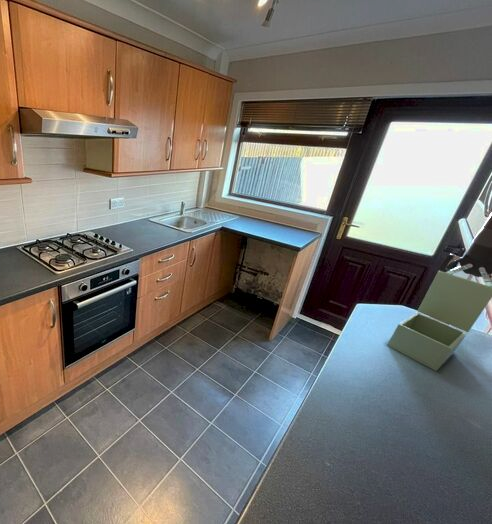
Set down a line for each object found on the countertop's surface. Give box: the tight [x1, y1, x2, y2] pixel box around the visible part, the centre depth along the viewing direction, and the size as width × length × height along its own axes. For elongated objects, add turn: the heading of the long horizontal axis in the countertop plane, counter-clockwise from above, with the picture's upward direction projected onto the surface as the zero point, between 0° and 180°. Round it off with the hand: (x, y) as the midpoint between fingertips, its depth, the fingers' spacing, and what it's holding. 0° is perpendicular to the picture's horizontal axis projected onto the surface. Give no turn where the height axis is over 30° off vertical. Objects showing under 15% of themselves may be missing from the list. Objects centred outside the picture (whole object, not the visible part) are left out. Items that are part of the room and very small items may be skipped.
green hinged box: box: [386, 311, 468, 372], centre depth 91 cm, size 16×13×9 cm
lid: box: [417, 270, 492, 333], centre depth 89 cm, size 16×13×6 cm
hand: (461, 291), depth 89 cm, fingers open, 8 cm apart
